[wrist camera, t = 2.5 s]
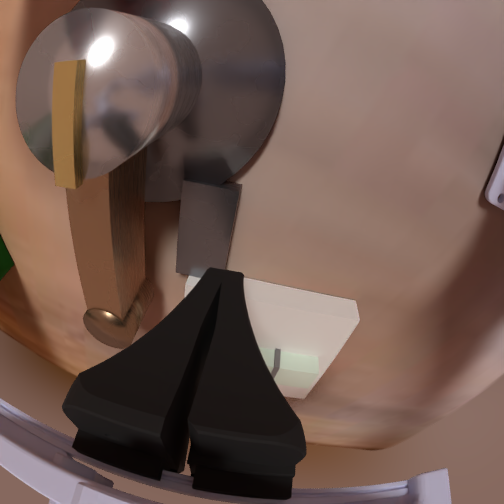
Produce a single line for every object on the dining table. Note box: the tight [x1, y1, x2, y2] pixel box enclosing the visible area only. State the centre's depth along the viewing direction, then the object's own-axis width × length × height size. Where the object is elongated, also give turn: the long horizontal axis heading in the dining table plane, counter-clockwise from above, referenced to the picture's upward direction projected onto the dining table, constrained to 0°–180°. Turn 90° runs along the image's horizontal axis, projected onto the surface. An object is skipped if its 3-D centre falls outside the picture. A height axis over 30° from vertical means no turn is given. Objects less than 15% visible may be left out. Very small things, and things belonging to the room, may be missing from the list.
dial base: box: [71, 0, 285, 278], centre depth 11 cm, size 11×14×1 cm
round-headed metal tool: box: [16, 8, 202, 349], centre depth 10 cm, size 14×5×5 cm, turn 168°
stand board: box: [185, 276, 360, 399], centre depth 17 cm, size 9×9×4 cm
